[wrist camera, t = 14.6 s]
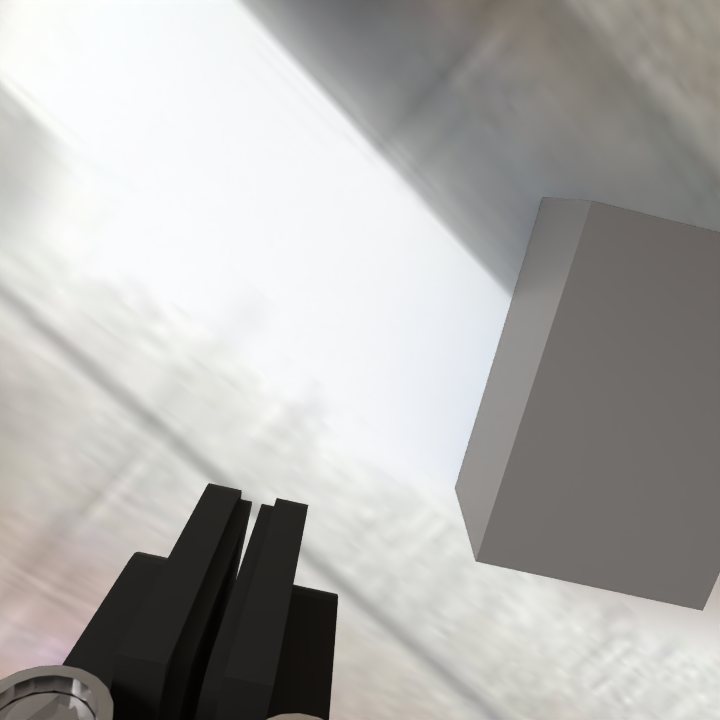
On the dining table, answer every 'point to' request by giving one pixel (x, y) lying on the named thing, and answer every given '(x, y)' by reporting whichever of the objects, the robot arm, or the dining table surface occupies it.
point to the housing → (604, 409)
